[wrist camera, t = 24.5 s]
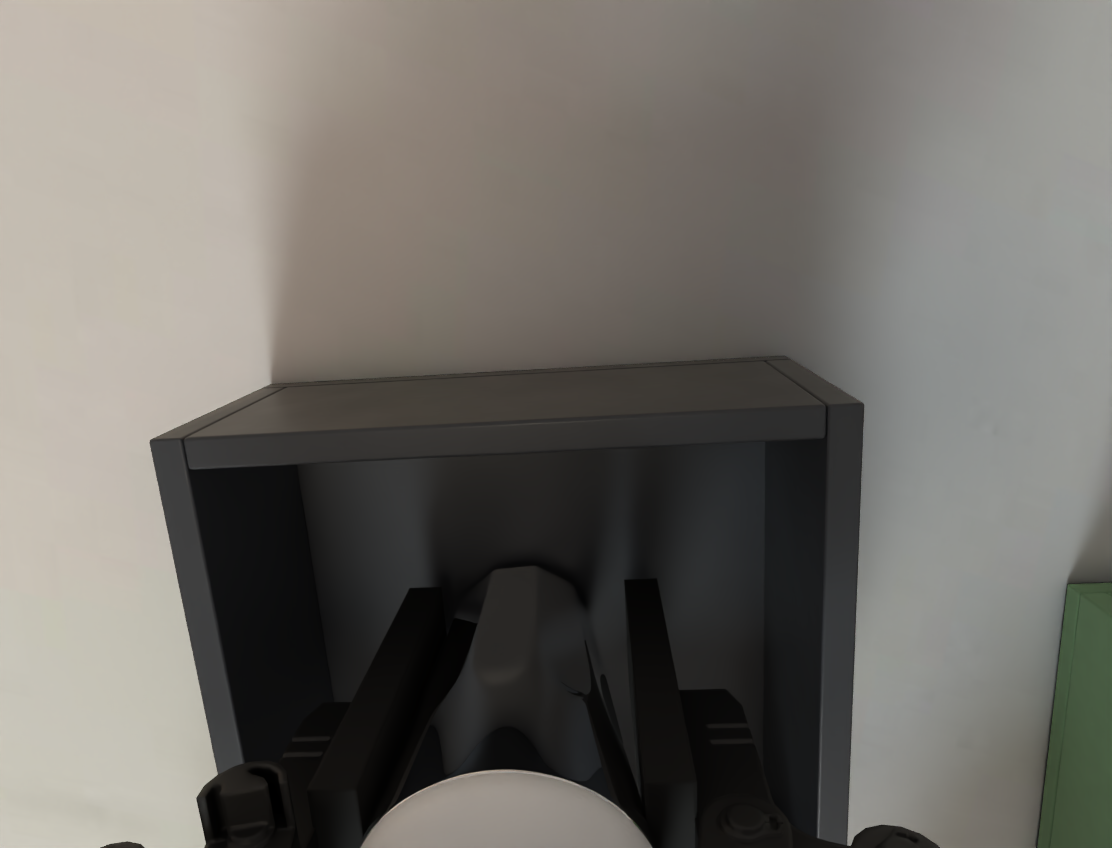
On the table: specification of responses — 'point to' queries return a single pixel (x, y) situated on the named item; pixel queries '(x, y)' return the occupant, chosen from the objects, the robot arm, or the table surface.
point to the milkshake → (514, 732)
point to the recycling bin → (1081, 727)
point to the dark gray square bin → (532, 538)
